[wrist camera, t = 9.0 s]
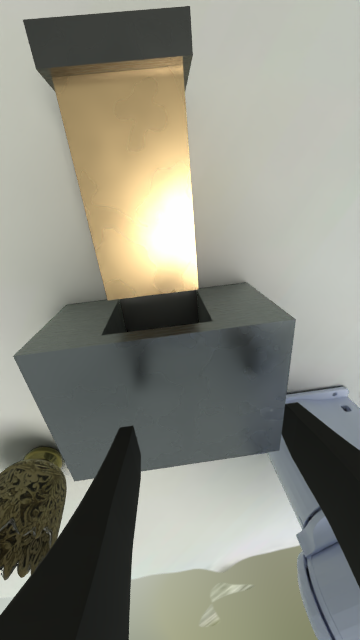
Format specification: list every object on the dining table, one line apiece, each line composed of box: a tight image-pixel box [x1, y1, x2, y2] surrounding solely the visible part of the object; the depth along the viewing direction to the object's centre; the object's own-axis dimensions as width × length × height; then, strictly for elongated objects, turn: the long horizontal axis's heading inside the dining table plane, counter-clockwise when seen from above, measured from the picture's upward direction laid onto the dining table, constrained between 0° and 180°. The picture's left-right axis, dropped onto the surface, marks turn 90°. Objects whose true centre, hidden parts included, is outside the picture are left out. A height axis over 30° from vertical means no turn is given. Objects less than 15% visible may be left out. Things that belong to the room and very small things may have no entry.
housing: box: [13, 283, 296, 481], centre depth 17 cm, size 14×10×7 cm
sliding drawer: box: [23, 6, 198, 300], centre depth 12 cm, size 6×10×6 cm, turn 5°
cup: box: [0, 447, 67, 580], centre depth 20 cm, size 8×7×8 cm
